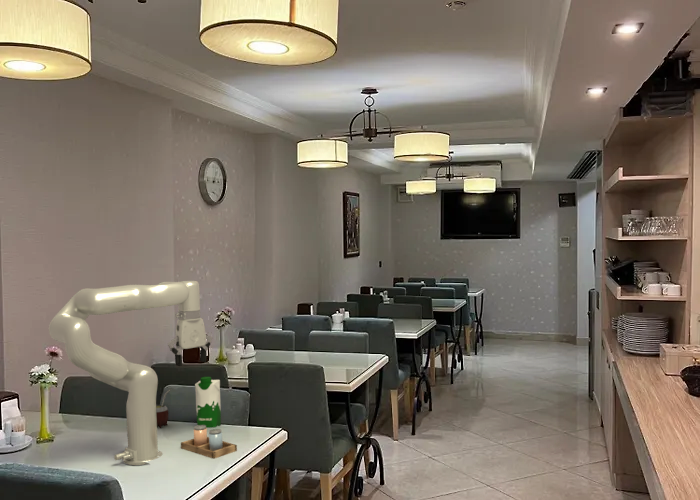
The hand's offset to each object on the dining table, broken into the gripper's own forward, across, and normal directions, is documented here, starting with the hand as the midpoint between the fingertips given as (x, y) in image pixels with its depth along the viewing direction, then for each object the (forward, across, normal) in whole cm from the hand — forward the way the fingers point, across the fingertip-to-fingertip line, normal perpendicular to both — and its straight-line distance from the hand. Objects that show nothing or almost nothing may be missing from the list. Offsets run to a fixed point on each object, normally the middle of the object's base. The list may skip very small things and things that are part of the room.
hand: (191, 363), depth 234 cm
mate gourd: (+29, +4, +31) cm, 43 cm away
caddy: (+29, -2, -12) cm, 32 cm away
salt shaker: (+28, -1, -17) cm, 32 cm away
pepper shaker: (+28, -2, -8) cm, 29 cm away
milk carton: (+29, +15, +14) cm, 36 cm away
